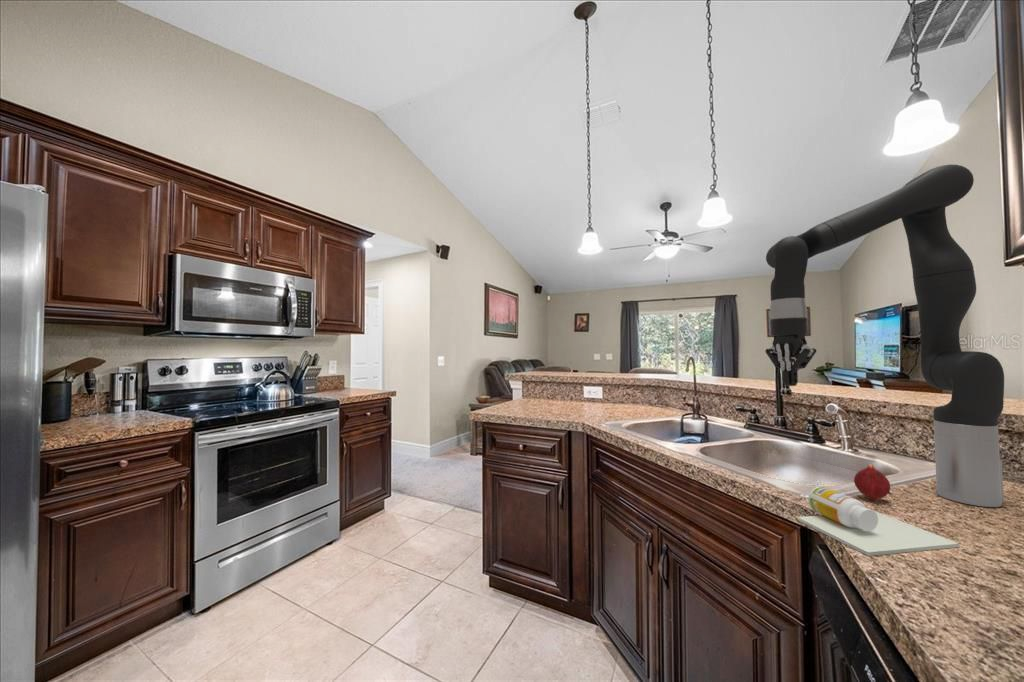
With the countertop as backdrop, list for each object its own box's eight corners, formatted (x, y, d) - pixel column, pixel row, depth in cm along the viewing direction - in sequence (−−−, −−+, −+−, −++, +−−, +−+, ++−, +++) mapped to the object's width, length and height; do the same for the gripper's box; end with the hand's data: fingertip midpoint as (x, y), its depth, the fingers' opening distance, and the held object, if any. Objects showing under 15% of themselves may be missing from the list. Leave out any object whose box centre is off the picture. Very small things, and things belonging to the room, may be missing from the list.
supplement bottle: (824, 516, 76) (875, 540, 66) (803, 505, 76) (850, 528, 66) (834, 492, 76) (886, 512, 67) (813, 481, 76) (862, 500, 66)
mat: (875, 513, 76) (875, 511, 76) (958, 547, 63) (958, 543, 63) (797, 520, 74) (797, 517, 74) (868, 555, 61) (868, 552, 61)
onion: (898, 506, 80) (896, 469, 80) (867, 504, 81) (865, 467, 81) (877, 496, 85) (876, 461, 85) (848, 494, 86) (847, 460, 87)
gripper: (826, 314, 88) (829, 387, 87) (779, 319, 101) (781, 383, 100) (798, 314, 87) (800, 388, 86) (754, 319, 100) (756, 383, 99)
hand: (790, 385), depth 93 cm, fingers closed
